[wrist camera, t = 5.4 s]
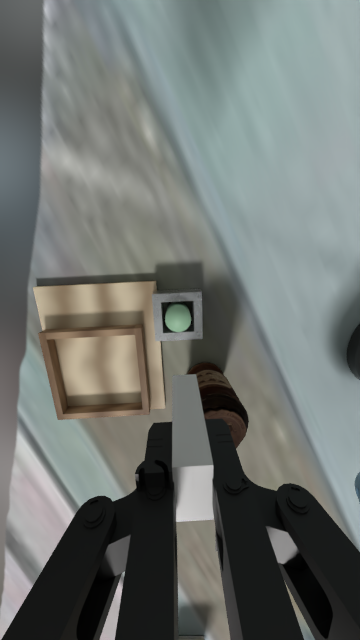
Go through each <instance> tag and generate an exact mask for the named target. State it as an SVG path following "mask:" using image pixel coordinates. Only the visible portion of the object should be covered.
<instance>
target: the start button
mask: <svg viewBox="0 0 360 640" xmlns="http://www.w3.org/2000/svg"><path fill="white" fill-rule="evenodd" d="M165 322H166V325H167V327H168V328H169V329H170V330H172V331H174V332H182V331H184V330H186V329H187V328H188V327H189V326H190V323H191V315H190V312H189V309H188V307H187V306H186V305H185V304H184V303H181V302H174V303H172V304H170V305H169V306H168V308H167V310H166V316H165Z"/></svg>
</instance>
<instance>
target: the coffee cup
mask: <svg viewBox="0 0 360 640" xmlns="http://www.w3.org/2000/svg"><path fill="white" fill-rule="evenodd" d="M189 374H196V377H197V382H198V387H199V392H200V398H201V403H202V408H203V413H204V418H205V419H220V418H222V419H223V420H224V421H225V422H226V423H227V424H228V426H229V429H230V432H231V435H232V438H233V442H234V445H235V448H237V447H238V446H239V444H240V443H241V441H242V440H243V438H244V437H245V435H246V432H247V428H248V422H249V420H248V415H247V412H246V410H245V408H244V407H243V405H242V403H241V402H240V400H239V398H238V397H237V395H236V393H235V391H234V390H233V388H232V387H231V385H230V384H229V381H228V380H227V378H226V377H225V376H224V375H223V373H222V371H221V370H220V369H219V368H218V367H217V366H216V365H215V364H212V363H200V364H197V365H195V366H194V367H193V368H192V369H191V370H190V371H189V372H188V374H187V375H189Z"/></svg>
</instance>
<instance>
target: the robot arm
mask: <svg viewBox="0 0 360 640" xmlns="http://www.w3.org/2000/svg"><path fill="white" fill-rule="evenodd" d="M347 361H348V365H349V368H350V370H351V372H352V373H353V374H354V376H355V377H356V378H358V379H359V380H360V325H359V326H358V327H357V329H356V330H355V332H354V333H353V335H352V337H351V339H350V342H349V345H348V350H347ZM135 478H136V486H137V488H136V489H135V491H133V492H132V493H131V494H129V495H127V496H126V497H123V498H121V499H118V500H116V501H114V502H112V500H111V499H110V498H108V497H106V496H97V497H94V498H91V499H89V500H88V501H87V502H85V503H84V504H83V505H82V506H81V507H80V509H79V510H78V511H77V513H76V514H75V516H74V518H73V519H72V521H71V523H70V525H69V526H68V528H67V530H66V531H65V533H64V535H63V536H62V538H61V540H60V541H59V543H58V545H57V547H56V548H55V550H54V552H53V553H52V555H51V557H50V558H49V560H48V562H47V563H46V565H45V567H44V568H43V570H42V572H41V574H40V575H39V577H38V579H37V580H36V582H35V584H34V585H33V587H32V589H31V590H30V592H29V594H28V596H27V597H26V599H25V601H24V602H23V604H22V606H21V607H20V609H19V611H18V612H17V614H16V616H15V618H14V619H13V621H12V623H11V624H10V626H9V628H8V629H7V631H6V633H5V634H4V636H3V638H2V639H1V640H99V639H100V636H101V633H102V630H103V627H104V624H105V621H106V618H107V615H108V612H109V609H110V606H111V603H112V601H113V598H114V595H115V592H116V589H117V586H118V583H119V580H120V577H121V574H122V572H124V571H125V576H124V583H123V589H122V596H121V603H120V609H119V616H118V623H117V629H116V636H115V640H178V578H177V534H176V522H181V521H197V520H212V519H214V520H215V526H216V551H218V557H219V564H220V570H221V577H222V584H223V591H224V597H225V604H226V611H227V618H228V624H229V631H230V638H231V640H304V638H303V635H302V632H301V629H300V626H299V623H298V620H297V617H296V614H295V611H294V608H293V606H292V603H291V600H290V597H289V594H288V591H287V588H286V585H285V583H286V584H287V586H288V588H289V590H290V592H291V594H292V596H293V598H294V600H295V602H296V604H297V605H298V607H299V609H300V611H301V613H302V615H303V617H304V619H305V621H306V623H307V625H308V627H309V628H310V630H311V632H312V634H313V636H314V638H315V640H360V552H359V551H358V550H357V548H356V547H355V546H354V545H353V543H352V542H351V541H350V540H349V539H348V537H347V536H346V535H345V534H344V533H343V531H342V530H341V529H340V528H339V527H338V525H337V524H336V523H335V522H334V521H333V519H332V518H331V517H330V516H329V515H328V513H327V512H326V511H325V510H324V508H323V507H322V506H321V505H320V504H319V502H318V501H317V500H316V499H315V498H314V496H313V495H311V494H310V493H309V492H308V491H307V490H306V489H304V488H302V487H301V486H299V485H295V484H291V483H289V484H283V485H282V486H280V487H279V488H278V490H277V491H274V490H271V489H267V488H263V487H260V486H258V485H256V484H254V483H253V482H252V481H250V480H249V479H248V478H247V476H246V475H245V474H244V471H243V469H242V466H241V463H240V460H239V457H238V454H237V451H236V448H235V445H234V442H233V438H232V435H231V432H230V429H229V426H228V424H227V423H226V422H225V421H224V420H223V419H222V418H220V419H205V418H204V413H203V408H202V403H201V398H200V392H199V387H198V382H197V377H196V374H189V375H173V390H172V422H161V423H153V425H152V426H151V428H150V429H149V432H148V441H147V448H146V454H145V461H143V462H142V463H141V464H140V465H139V466H138V467H137V470H136V472H135ZM355 490H356V494H357V496H358V499H359V502H360V472H359V473H358V475H357V476H356V479H355ZM284 581H285V582H284Z"/></svg>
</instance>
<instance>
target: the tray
mask: <svg viewBox="0 0 360 640" xmlns="http://www.w3.org/2000/svg"><path fill="white" fill-rule="evenodd" d="M33 289H34V294H35V298H36V303H37V307H38V312H39V316H40V321H41V326H42V330H43V331H42V332H40V333H38V334H39V339H40V343H41V348H42V352H43V356H44V361H45V365H46V369H47V374H48V378H49V383H50V387H51V391H52V396H53V400H54V405H55V409H56V413H57V418H58V420H63V419H80V418H97V417H114V416H131V415H148V414H150V409H162V408H165V394H164V380H163V366H162V352H161V341H155V329H154V317H153V304H152V293H153V292H154V291H157V284H156V281H138V282H117V283H96V284H76V285H55V286H36V287H33Z"/></svg>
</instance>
